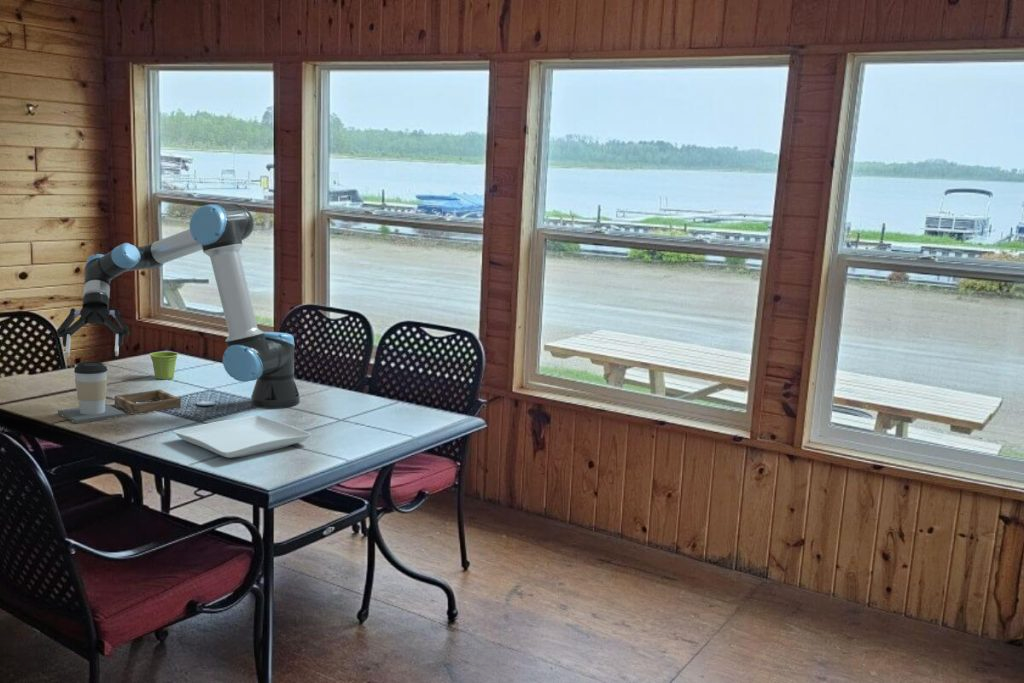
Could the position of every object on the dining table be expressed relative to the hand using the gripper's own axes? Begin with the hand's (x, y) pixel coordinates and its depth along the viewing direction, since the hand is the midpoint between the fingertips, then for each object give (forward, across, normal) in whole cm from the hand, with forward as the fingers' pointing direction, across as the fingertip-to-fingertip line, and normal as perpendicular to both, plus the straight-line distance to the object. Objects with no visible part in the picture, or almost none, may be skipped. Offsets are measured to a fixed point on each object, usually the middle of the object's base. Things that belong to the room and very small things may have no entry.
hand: (92, 354), depth 275 cm
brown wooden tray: (+12, -15, -12) cm, 23 cm away
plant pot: (-16, -18, -40) cm, 47 cm away
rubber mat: (+18, 0, -6) cm, 19 cm away
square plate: (+43, -42, +18) cm, 63 cm away
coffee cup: (+17, 0, -6) cm, 18 cm away
